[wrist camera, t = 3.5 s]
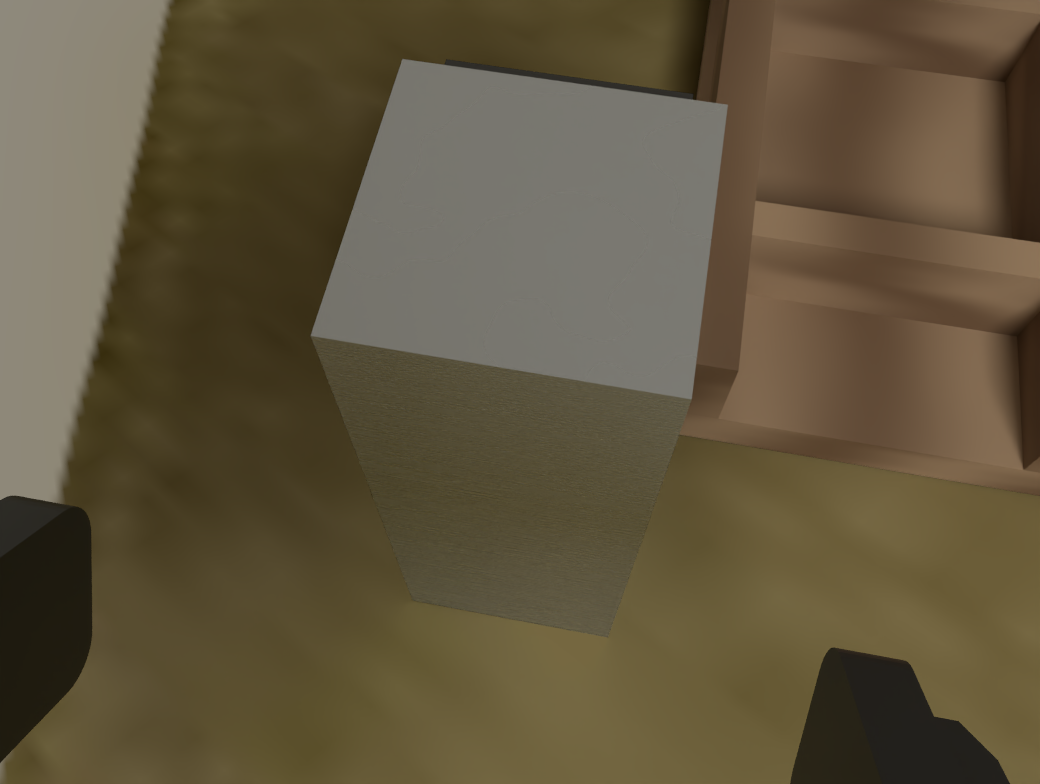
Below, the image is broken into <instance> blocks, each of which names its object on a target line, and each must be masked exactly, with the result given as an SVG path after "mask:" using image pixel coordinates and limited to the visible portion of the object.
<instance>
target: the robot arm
mask: <svg viewBox="0 0 1040 784" xmlns="http://www.w3.org/2000/svg"><path fill="white" fill-rule="evenodd" d="M91 638H92V570H91V526H90V521H89V518H88V516H87V514H86V512H85V511H84V510H83V509H81V508H79V507H75V506H69V505H64V504H58V503H53V502H47V501H42V500H36V499H31V498H25V497H20V496H9V497H6V498H4V499H2V500H0V762H1V761H2V760H3V759H4V758H5V757H6V756H7V755H8V754H9V753H10V752H11V751H12V750H13V749H14V748H15V747H16V746H17V745H18V744H19V743H20V741H21V740H22V739H23V738H24V737H25V736H26V735H27V734H28V733H29V732H30V731H31V730H32V729H33V728H34V727H35V726H36V725H37V724H38V723H39V722H40V721H41V720H42V719H43V718H44V716H45V715H46V714H47V713H48V712H49V711H50V710H51V709H52V708H53V707H54V706H55V705H56V704H57V703H58V702H59V701H60V700H61V699H62V698H63V697H64V696H65V695H66V694H67V692H68V691H69V690H70V689H71V688H72V687H73V685H74V684H75V682H76V681H77V679H78V677H79V675H80V674H81V671H82V669H83V667H84V665H85V662H86V659H87V656H88V653H89V649H90V645H91ZM790 784H1010V783H1009V781H1008V779H1007V777H1006V775H1005V773H1004V771H1003V769H1002V768H1001V766H1000V764H999V762H998V760H997V759H996V758H995V757H994V756H993V755H992V754H991V753H990V752H989V751H988V750H987V749H986V748H985V747H984V746H983V745H982V744H981V743H980V742H979V741H978V740H977V739H976V738H975V737H974V736H973V735H972V734H971V733H970V732H969V731H968V730H967V729H966V728H965V727H964V726H963V725H962V724H961V723H960V722H959V721H954V720H949V719H944V718H938V717H934V716H933V714H932V711H931V709H930V707H929V705H928V702H927V700H926V698H925V696H924V693H923V691H922V689H921V687H920V684H919V682H918V680H917V678H916V675H915V673H914V671H913V669H912V667H911V665H910V664H909V663H908V662H907V661H904V660H899V659H893V658H888V657H882V656H877V655H871V654H866V653H861V652H855V651H850V650H844V649H839V648H831V649H829V650H828V652H827V653H826V655H825V657H824V659H823V662H822V665H821V668H820V671H819V675H818V679H817V682H816V686H815V690H814V693H813V697H812V701H811V705H810V708H809V712H808V716H807V719H806V723H805V727H804V731H803V734H802V738H801V742H800V745H799V749H798V753H797V757H796V760H795V764H794V768H793V772H792V777H791V783H790Z"/></svg>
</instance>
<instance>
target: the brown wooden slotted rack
mask: <svg viewBox="0 0 1040 784" xmlns="http://www.w3.org/2000/svg"><path fill="white" fill-rule="evenodd" d="M696 100H698V101H705V102H712V103H719V104H726V105H728V108H727V116H726V124H725V132H724V140H723V148H722V157H721V165H720V173H719V181H718V189H717V197H716V205H715V214H714V222H713V230H712V238H711V246H710V254H709V262H708V271H707V279H706V287H705V295H704V303H703V311H702V320H701V328H700V336H699V344H698V352H697V360H696V368H695V377H694V385H693V393H692V400H691V403H690V406H689V408H688V411H687V414H686V417H685V420H684V423H683V425H682V428H681V431H680V434H679V435H685V436H691V437H697V438H703V439H709V440H715V441H721V442H726V443H732V444H738V445H744V446H750V447H756V448H762V449H768V450H773V451H779V452H785V453H791V454H797V455H803V456H809V457H815V458H821V459H826V460H832V461H838V462H844V463H850V464H856V465H862V466H868V467H873V468H879V469H885V470H891V471H897V472H903V473H909V474H915V475H920V476H926V477H932V478H938V479H944V480H950V481H956V482H962V483H968V484H973V485H979V486H985V487H991V488H997V489H1003V490H1009V491H1015V492H1020V493H1026V494H1032V495H1038V496H1040V0H710V6H709V13H708V20H707V27H706V34H705V41H704V48H703V55H702V62H701V69H700V76H699V83H698V90H697V97H696Z"/></svg>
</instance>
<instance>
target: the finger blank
mask: <svg viewBox="0 0 1040 784" xmlns="http://www.w3.org/2000/svg"><path fill="white" fill-rule="evenodd" d="M727 108H728V105H726V104H719V103H712V102H705V101H698V100H693V94H690V93H682V92H675V91H668V90H661V89H654V88H647V87H639V86H632V85H625V84H618V83H611V82H604V81H597V80H589V79H582V78H575V77H568V76H561V75H554V74H547V73H539V72H532V71H525V70H518V69H511V68H504V67H496V66H489V65H482V64H475V63H468V62H461V61H454V60H446V62H445V65H441V64H434V63H427V62H420V61H413V60H405V59H402V62H401V65H400V68H399V71H398V74H397V77H396V80H395V83H394V86H393V89H392V92H391V95H390V98H389V101H388V104H387V107H386V110H385V113H384V116H383V119H382V122H381V125H380V128H379V131H378V134H377V137H376V140H375V143H374V146H373V149H372V152H371V155H370V158H369V161H368V164H367V167H366V170H365V173H364V176H363V179H362V182H361V185H360V188H359V191H358V194H357V197H356V201H355V204H354V207H353V210H352V213H351V216H350V219H349V222H348V225H347V228H346V231H345V234H344V237H343V240H342V243H341V246H340V249H339V252H338V255H337V258H336V261H335V264H334V267H333V270H332V273H331V276H330V279H329V282H328V285H327V288H326V291H325V294H324V297H323V300H322V303H321V306H320V309H319V312H318V315H317V318H316V321H315V324H314V327H313V330H312V333H311V338H312V341H313V343H314V346H315V349H316V351H317V354H318V356H319V359H320V361H321V364H322V367H323V369H324V372H325V374H326V377H327V380H328V382H329V385H330V387H331V390H332V393H333V395H334V398H335V400H336V403H337V405H338V408H339V411H340V413H341V416H342V418H343V421H344V424H345V426H346V429H347V431H348V434H349V437H350V439H351V442H352V444H353V447H354V449H355V452H356V455H357V457H358V460H359V462H360V465H361V468H362V470H363V473H364V475H365V478H366V481H367V483H368V486H369V488H370V491H371V493H372V496H373V499H374V501H375V504H376V506H377V509H378V512H379V514H380V517H381V519H382V522H383V525H384V527H385V530H386V532H387V535H388V537H389V540H390V543H391V545H392V548H393V550H394V553H395V556H396V558H397V561H398V563H399V566H400V569H401V571H402V574H403V576H404V579H405V581H406V584H407V587H408V589H409V592H410V594H411V597H412V600H414V601H419V602H425V603H430V604H435V605H441V606H446V607H451V608H456V609H462V610H467V611H472V612H478V613H483V614H488V615H493V616H499V617H504V618H509V619H514V620H520V621H525V622H530V623H536V624H541V625H546V626H551V627H557V628H562V629H567V630H573V631H578V632H583V633H588V634H594V635H599V636H604V637H608V635H609V633H610V630H611V627H612V624H613V621H614V618H615V616H616V613H617V610H618V607H619V604H620V601H621V599H622V596H623V593H624V590H625V587H626V584H627V582H628V579H629V576H630V573H631V570H632V567H633V565H634V562H635V559H636V556H637V553H638V550H639V548H640V545H641V542H642V539H643V536H644V533H645V530H646V528H647V525H648V522H649V519H650V516H651V513H652V511H653V508H654V505H655V502H656V499H657V496H658V494H659V491H660V488H661V485H662V482H663V479H664V477H665V474H666V471H667V468H668V465H669V462H670V460H671V457H672V454H673V451H674V448H675V445H676V443H677V440H678V437H679V434H680V431H681V428H682V425H683V423H684V420H685V417H686V414H687V411H688V408H689V406H690V403H691V400H692V393H693V385H694V377H695V368H696V360H697V352H698V344H699V336H700V328H701V320H702V311H703V303H704V295H705V287H706V279H707V271H708V262H709V254H710V246H711V238H712V230H713V222H714V214H715V205H716V197H717V189H718V181H719V173H720V165H721V157H722V148H723V140H724V132H725V124H726V116H727Z"/></svg>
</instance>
